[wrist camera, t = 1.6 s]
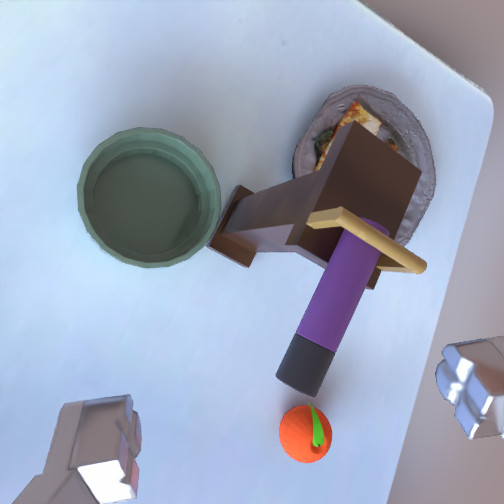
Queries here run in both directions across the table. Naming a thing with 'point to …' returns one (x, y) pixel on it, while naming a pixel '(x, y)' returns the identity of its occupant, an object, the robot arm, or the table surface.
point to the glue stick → (329, 313)
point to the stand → (327, 207)
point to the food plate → (382, 126)
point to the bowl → (148, 197)
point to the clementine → (305, 433)
